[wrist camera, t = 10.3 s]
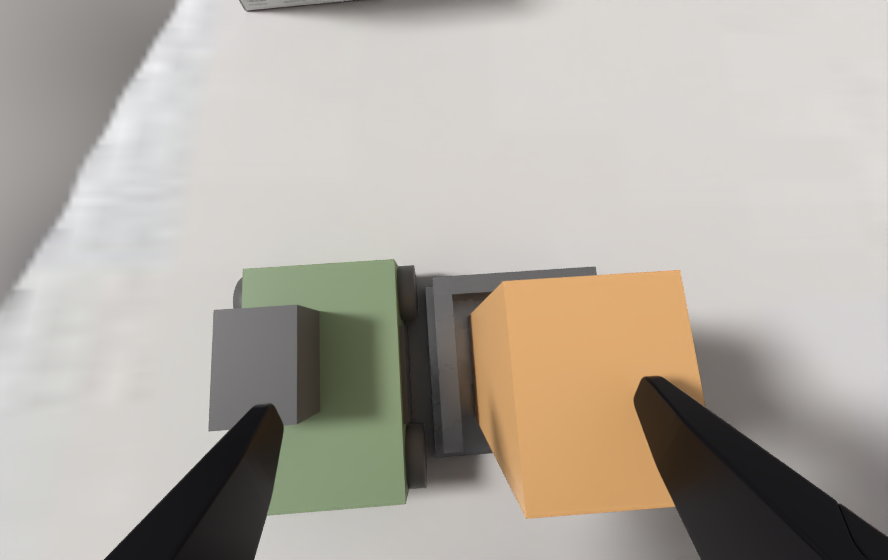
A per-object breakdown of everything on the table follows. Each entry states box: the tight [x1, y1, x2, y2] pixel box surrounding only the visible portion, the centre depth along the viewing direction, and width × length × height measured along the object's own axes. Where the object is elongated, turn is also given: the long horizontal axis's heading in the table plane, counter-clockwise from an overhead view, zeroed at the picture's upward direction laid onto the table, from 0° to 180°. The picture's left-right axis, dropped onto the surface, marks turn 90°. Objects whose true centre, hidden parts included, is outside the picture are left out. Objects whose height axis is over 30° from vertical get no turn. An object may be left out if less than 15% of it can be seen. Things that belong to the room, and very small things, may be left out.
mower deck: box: [209, 259, 427, 515], centre depth 19 cm, size 12×10×7 cm
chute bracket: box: [425, 267, 597, 457], centre depth 21 cm, size 10×10×4 cm
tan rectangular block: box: [468, 270, 705, 519], centre depth 16 cm, size 6×5×12 cm
